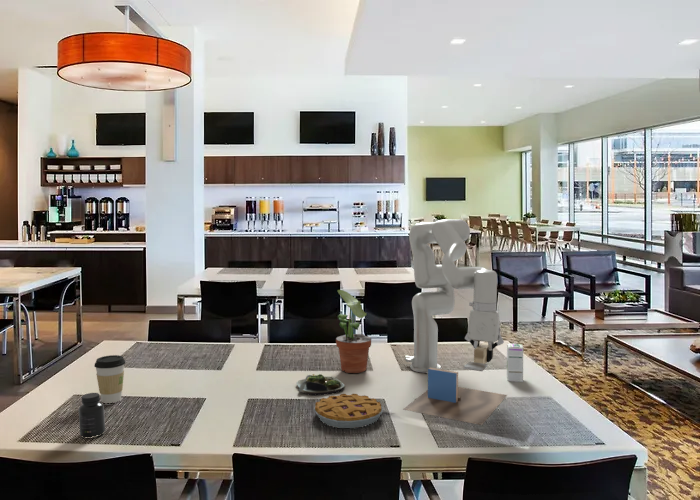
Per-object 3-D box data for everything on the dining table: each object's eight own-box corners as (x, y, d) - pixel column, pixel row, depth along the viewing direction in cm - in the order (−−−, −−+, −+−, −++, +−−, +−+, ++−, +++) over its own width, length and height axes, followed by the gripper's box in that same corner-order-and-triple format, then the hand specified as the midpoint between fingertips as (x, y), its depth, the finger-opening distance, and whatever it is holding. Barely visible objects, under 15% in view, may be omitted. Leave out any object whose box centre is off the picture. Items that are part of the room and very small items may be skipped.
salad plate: (288, 382, 215) (287, 370, 215) (332, 377, 221) (332, 365, 221) (301, 398, 197) (301, 385, 196) (349, 392, 203) (349, 380, 202)
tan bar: (481, 371, 178) (482, 356, 178) (463, 368, 181) (463, 353, 181) (497, 357, 194) (497, 343, 194) (480, 355, 197) (480, 341, 196)
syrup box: (523, 385, 209) (524, 347, 208) (506, 384, 210) (507, 346, 209) (521, 381, 215) (522, 343, 213) (505, 380, 216) (506, 342, 215)
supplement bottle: (85, 430, 169) (83, 391, 168) (108, 429, 170) (107, 390, 169) (76, 440, 162) (74, 399, 161) (100, 439, 163) (98, 398, 162)
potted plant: (328, 374, 223) (328, 287, 220) (343, 363, 237) (343, 281, 234) (365, 378, 218) (365, 289, 214) (378, 367, 232) (378, 283, 228)
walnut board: (402, 413, 182) (402, 406, 182) (436, 386, 208) (436, 380, 208) (481, 429, 169) (481, 421, 169) (507, 399, 195) (507, 392, 195)
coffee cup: (133, 398, 197) (131, 356, 195) (112, 407, 187) (110, 363, 186) (110, 394, 200) (108, 353, 199) (89, 404, 191) (87, 361, 189)
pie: (332, 437, 165) (332, 420, 164) (303, 412, 184) (303, 397, 184) (395, 423, 175) (395, 407, 174) (361, 401, 194) (361, 387, 194)
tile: (427, 397, 192) (428, 369, 192) (429, 395, 194) (430, 367, 193) (455, 402, 188) (456, 373, 187) (457, 400, 189) (458, 371, 188)
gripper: (457, 306, 189) (456, 359, 191) (506, 311, 181) (504, 366, 183) (464, 302, 196) (463, 354, 197) (512, 307, 188) (510, 361, 189)
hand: (483, 359), depth 190 cm, fingers closed on tan bar, 3 cm apart
